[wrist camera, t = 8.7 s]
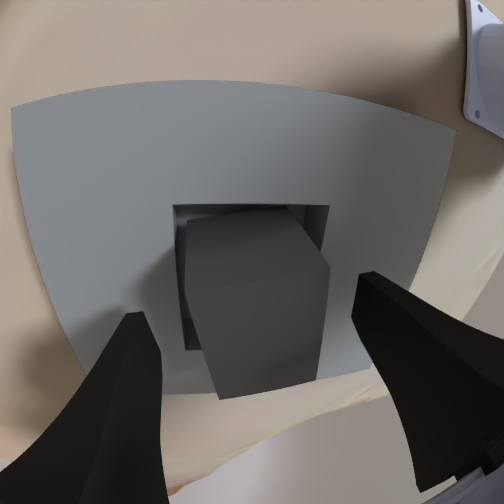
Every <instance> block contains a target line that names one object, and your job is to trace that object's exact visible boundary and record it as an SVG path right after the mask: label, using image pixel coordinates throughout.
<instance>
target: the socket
mask: <svg viewBox="0 0 504 504" xmlns="http://www.w3.org/2000/svg"><path fill="white" fill-rule="evenodd" d="M11 123H12V139H13V150H14V159H15V167H16V174H17V181H18V187H19V192H20V198H21V203H22V207H23V212H24V216H25V221H26V225H27V229H28V233H29V237H30V240H31V244H32V247H33V251H34V254H35V257H36V261H37V264H38V267H39V270H40V273H41V276H42V279H43V281H44V284H45V287H46V290H47V292H48V295H49V298H50V300H51V303H52V305H53V308H54V310H55V312H56V315H57V317H58V319H59V322H60V324H61V326H62V328H63V331H64V333H65V335H66V337H67V339H68V341H69V343H70V345H71V347H72V349H73V351H74V353H75V355H76V357H77V359H78V361H79V363H80V365H81V367H82V368H83V370H84V372H85V374H86V376H87V375H88V374H89V372H90V371H91V369H92V367H93V366H94V364H95V363H96V361H97V359H98V358H99V356H100V355H101V353H102V351H103V350H104V348H105V346H106V345H107V343H108V341H109V340H110V338H111V337H112V335H113V333H114V332H115V330H116V328H117V327H118V325H119V323H120V322H121V320H122V319H123V317H124V316H125V314H126V313H132V312H140V311H143V312H144V314H145V316H146V319H147V321H148V324H149V326H150V328H151V330H152V333H153V335H154V337H155V339H156V342H157V344H158V346H159V348H160V350H161V358H162V377H163V380H162V394H198V393H217V392H216V389H215V387H214V384H213V381H212V378H211V375H210V372H209V369H208V367H207V364H206V361H205V358H204V355H203V351H202V348H201V345H200V342H199V339H198V336H197V333H196V329H195V326H194V323H193V320H192V316H191V313H190V310H189V306H188V303H187V299H186V296H185V256H186V232H187V220H189V219H195V218H201V217H207V216H214V215H220V214H227V213H233V212H240V211H247V210H253V209H261V208H268V207H275V206H283V205H286V206H287V208H288V209H289V210H290V212H291V213H292V214H293V216H294V217H295V218H296V220H297V221H298V222H299V224H300V225H301V227H302V228H303V229H304V231H305V232H306V233H307V235H308V236H309V237H310V239H311V240H312V242H313V243H314V244H315V246H316V247H317V249H318V250H319V251H320V253H321V254H322V256H323V257H324V258H325V260H326V261H327V263H328V264H329V266H330V267H331V269H330V280H329V290H328V299H327V307H326V316H325V323H324V331H323V338H322V345H321V352H320V358H319V365H318V371H317V377H316V380H319V379H325V378H330V377H335V376H339V375H344V374H348V373H353V372H357V371H361V370H365V369H369V368H370V367H371V365H372V363H373V362H372V360H371V358H370V356H369V355H368V353H367V351H366V349H365V348H364V346H363V344H362V342H361V340H360V338H359V336H358V333H357V331H356V329H355V326H354V324H353V321H352V319H351V313H352V308H353V303H354V298H355V293H356V287H357V282H358V276H359V274H361V273H366V272H370V271H375V272H377V273H379V274H381V275H382V276H384V277H386V278H388V279H389V280H391V281H393V282H394V283H396V284H397V285H399V286H401V287H402V288H404V289H405V290H407V291H409V289H410V286H411V284H412V281H413V279H414V277H415V274H416V272H417V269H418V267H419V264H420V261H421V259H422V256H423V254H424V251H425V248H426V245H427V242H428V240H429V237H430V234H431V231H432V228H433V225H434V221H435V218H436V215H437V212H438V208H439V205H440V202H441V198H442V194H443V191H444V187H445V183H446V179H447V175H448V171H449V166H450V162H451V157H452V152H453V147H454V142H455V137H456V131H457V130H454V129H452V128H449V127H447V126H444V125H442V124H439V123H436V122H434V121H431V120H428V119H425V118H423V117H420V116H417V115H414V114H411V113H408V112H404V111H401V110H398V109H395V108H391V107H388V106H384V105H380V104H377V103H373V102H369V101H365V100H361V99H357V98H352V97H348V96H343V95H338V94H334V93H328V92H323V91H317V90H311V89H305V88H298V87H291V86H283V85H275V84H265V83H254V82H240V81H216V80H179V81H157V82H143V83H132V84H122V85H114V86H107V87H100V88H93V89H87V90H82V91H76V92H71V93H66V94H62V95H57V96H53V97H49V98H45V99H41V100H37V101H33V102H30V103H26V104H23V105H19V106H16V107H13V108H11Z"/></svg>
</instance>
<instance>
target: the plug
mask: <svg viewBox="0 0 504 504" xmlns="http://www.w3.org/2000/svg"><path fill="white" fill-rule="evenodd" d="M330 269H331V267H330V266H329V264H328V263H327V261H326V260H325V258H324V257H323V256H322V254H321V253H320V251H319V250H318V249H317V247H316V246H315V244H314V243H313V242H312V240H311V239H310V237H309V236H308V235H307V233H306V232H305V231H304V229H303V228H302V227H301V225H300V224H299V222H298V221H297V220H296V218H295V217H294V216H293V214H292V213H291V212H290V210H289V209H288V208H287V206H286V205H283V206H275V207H268V208H261V209H253V210H247V211H240V212H233V213H227V214H220V215H214V216H207V217H201V218H195V219H189V220H187V232H186V256H185V296H186V299H187V303H188V306H189V310H190V313H191V316H192V320H193V323H194V326H195V329H196V333H197V336H198V339H199V342H200V345H201V348H202V351H203V355H204V358H205V361H206V364H207V367H208V369H209V372H210V375H211V378H212V381H213V384H214V387H215V389H216V392H217V395H218V398H219V400H222V399H228V398H235V397H241V396H246V395H252V394H257V393H262V392H267V391H272V390H277V389H281V388H286V387H290V386H295V385H299V384H303V383H307V382H311V381H314V380H316V377H317V371H318V365H319V358H320V352H321V345H322V338H323V331H324V323H325V316H326V307H327V299H328V290H329V280H330Z"/></svg>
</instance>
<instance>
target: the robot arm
mask: <svg viewBox="0 0 504 504" xmlns="http://www.w3.org/2000/svg"><path fill="white" fill-rule="evenodd" d="M466 13H467V72H466V86H465V97H464V105H463V113H464V116H465V118H466V119H468V120H470V121H472V122H474V123H475V124H477V125H479V126H481V127H483V128H485V129H487V130H489V131H490V132H492V133H494V134H496V135H497V136H499V137H501V138H503V139H504V24H503V23H502V22H501V21H500V20H499V19H497V18H496V17H495V16H494V15H493V14H492V13H491V12H490V11H489V10H488V9H487V8H485V7H484V6H483V5H482V4H481V3H480V2H478V1H477V0H466ZM351 319H352V321H353V324H354V326H355V329H356V331H357V333H358V336H359V338H360V340H361V342H362V344H363V346H364V348H365V349H366V351H367V353H368V355H369V356H370V358H371V360H372V362H373V363H374V365H375V367H376V368H377V370H378V372H379V374H380V375H381V377H382V379H383V381H384V383H385V384H386V386H387V388H388V390H389V392H390V394H391V396H392V399H393V401H394V404H395V406H396V409H397V411H398V414H399V416H400V419H401V422H402V425H403V428H404V431H405V434H406V438H407V441H408V445H409V449H410V453H411V457H412V461H413V467H414V472H415V478H416V485H417V487H418V489H419V491H420V493H421V492H424V491H426V490H428V489H430V488H432V487H434V486H436V485H438V484H440V483H442V482H444V481H446V480H447V479H449V478H450V477H452V476H453V475H454V476H455V478H456V480H457V482H456V483H454V484H453V485H451V486H450V487H448V488H447V489H445V490H444V491H442V492H441V493H439V494H437V495H436V496H434V497H433V498H431V499H429V500H428V501H426V502H424V503H423V504H504V339H500V338H498V337H495V336H493V335H490V334H487V333H485V332H482V331H480V330H478V329H475V328H473V327H471V326H469V325H467V324H465V323H463V322H461V321H459V320H457V319H455V318H453V317H451V316H449V315H447V314H446V313H444V312H442V311H440V310H438V309H437V308H435V307H433V306H432V305H430V304H428V303H426V302H425V301H423V300H422V299H420V298H418V297H417V296H415V295H413V294H412V293H410V292H409V291H407V290H405V289H404V288H402V287H401V286H399V285H397V284H396V283H394V282H393V281H391V280H389V279H388V278H386V277H384V276H382V275H381V274H379V273H377V272H375V271H370V272H366V273H361V274H359V276H358V282H357V287H356V293H355V298H354V303H353V308H352V313H351ZM162 380H163V377H162V358H161V350H160V348H159V346H158V344H157V342H156V339H155V337H154V335H153V333H152V330H151V328H150V326H149V324H148V321H147V319H146V316H145V314H144V312H143V311H140V312H132V313H126V314H125V316H124V317H123V319H122V320H121V322H120V323H119V325H118V327H117V328H116V330H115V332H114V333H113V335H112V337H111V338H110V340H109V341H108V343H107V345H106V346H105V348H104V350H103V351H102V353H101V355H100V356H99V358H98V359H97V361H96V363H95V364H94V366H93V367H92V369H91V371H90V372H89V374H88V375H87V377H86V378H85V380H84V381H83V383H82V384H81V386H80V387H79V389H78V390H77V392H76V393H75V394H74V396H73V397H72V399H71V400H70V401H69V402H68V404H67V405H66V406H65V408H64V409H63V410H62V412H61V413H60V414H59V415H58V417H57V418H56V419H55V420H54V421H53V422H52V423H51V424H50V426H49V427H48V428H47V429H46V430H45V431H44V432H43V434H42V435H41V436H40V437H39V438H38V439H37V440H36V441H35V442H34V443H33V444H32V445H31V446H30V447H29V448H28V449H27V450H26V451H25V452H24V453H23V454H22V455H20V456H19V457H18V458H17V459H16V460H15V461H13V462H12V463H11V464H10V465H8V466H7V467H6V468H5V469H3V470H2V471H1V472H0V504H169V499H168V495H167V490H166V484H165V478H164V472H163V464H162V456H161V446H160V423H161V400H162Z"/></svg>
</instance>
